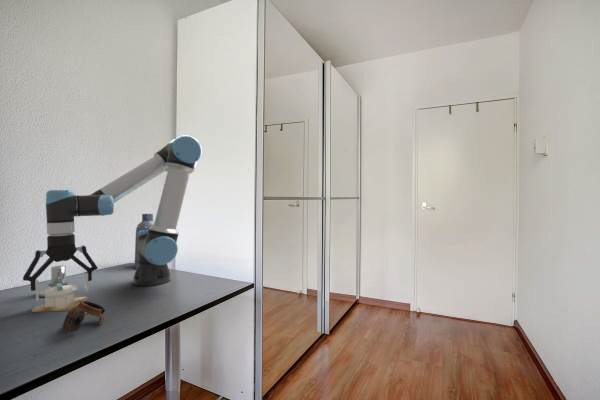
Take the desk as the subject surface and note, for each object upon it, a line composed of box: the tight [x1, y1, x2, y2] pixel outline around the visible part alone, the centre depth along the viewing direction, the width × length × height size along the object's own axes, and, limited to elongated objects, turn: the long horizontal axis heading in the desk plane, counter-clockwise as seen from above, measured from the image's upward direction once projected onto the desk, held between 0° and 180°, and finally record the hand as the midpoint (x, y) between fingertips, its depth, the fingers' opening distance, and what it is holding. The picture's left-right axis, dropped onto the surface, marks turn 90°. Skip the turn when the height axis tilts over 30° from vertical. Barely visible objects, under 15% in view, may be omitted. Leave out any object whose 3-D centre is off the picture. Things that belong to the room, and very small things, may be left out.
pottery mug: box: [61, 300, 106, 333], centre depth 87 cm, size 12×9×8 cm
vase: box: [134, 213, 155, 269], centre depth 160 cm, size 12×12×28 cm
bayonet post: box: [39, 264, 79, 298], centre depth 118 cm, size 12×12×10 cm
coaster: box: [31, 296, 88, 313], centre depth 105 cm, size 11×11×1 cm
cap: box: [44, 283, 75, 307], centre depth 104 cm, size 8×8×6 cm
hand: (63, 294), depth 105 cm, fingers open, 13 cm apart
